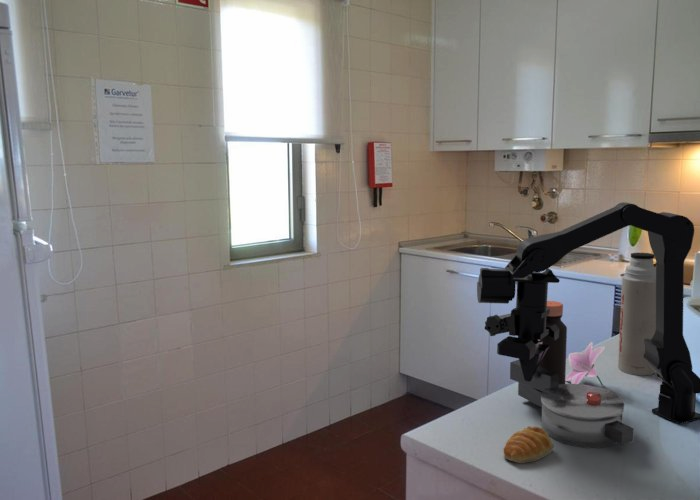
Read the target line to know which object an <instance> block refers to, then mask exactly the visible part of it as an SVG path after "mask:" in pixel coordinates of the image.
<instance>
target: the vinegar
mask: <svg viewBox="0 0 700 500" xmlns="http://www.w3.org/2000/svg"><path fill="white" fill-rule="evenodd" d="M547 308H548V309H550V314H548V315H547V316H546V323H553V324H556V325H557V327H558V328H559V338H558V339H556V340H552V338H551V336H545V337H544V338H542V339H541V340H540V341H542V344H544V345H549V349H548V350H547V352H546V353H545V355H544V357H543V359H542V361H541V362H540V364H539V367H542V368H545V369H548V370H551V371H554V372H557V373H559V384H566V381H565V378H566V374H567V372H566V369H567V367H566V366H567V341H568V340H567V338H568V337H567V336H568V335H567V333H568V327H567V325H565V323H564V322H563V321H562V318H563V313H564V311H563V310H564V304H563V303H562V302H559V301H556V300H555V301H554V300H547Z"/></svg>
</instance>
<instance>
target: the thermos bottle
mask: <svg viewBox="0 0 700 500" xmlns="http://www.w3.org/2000/svg"><path fill="white" fill-rule="evenodd" d="M654 259H655V256H654V253H649V252H631V253H630V261H629V265H627V266H626V267H625V270H624V272H625V274H624V275H622V276H621V294H620V296H621V297H620V316H619V317H620V318H619V336H618V338H619V339H618V342H619V343H618V357H617V358H618V360H617V361H618V362H617V368H618V370H619V371H621V372H624V373H627V374H629V375H636V376H650V375H653V373H654V374H656V372H655V371H654V370H653V369H652V368H651V367H650V366H649V365H648V363H647V360H646V359H645V358H644V357H643V356H644V354H645V344H644V339H652V337H653V336H654V334H655V331H656V266H654Z"/></svg>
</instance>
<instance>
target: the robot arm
mask: <svg viewBox="0 0 700 500" xmlns="http://www.w3.org/2000/svg"><path fill="white" fill-rule="evenodd" d="M630 226H632V227H635V228H637V229H639V230H642V231H645V232H647V236H648V237H647V238H648V241H649V246H650V249H651V250H652V251H651V252H652V254H654V259H655V267H656V331H655V334H654V336H653V337H652V339H644V344H645V354H644V356H643V357H644V358H645V359H646V360H647V363H648V365H649V366H650V367H651V368H652V369H653V370H654V371H655V375H656V378H658V379H660V380H661V381H662V382H661V384H659V393H658V404H657V407H654V408H651V413H654V414H656V415H658V416H660V417H663V418H665V419H668V420H669V421H672V422H674V423H677V424H680V425H681V424H685V423H689V422H693V421H695V420H696V421H697V420H698V419H700V413H699V412H696V400H697V394H700V377H699V376H698V374H696V373H695V372H694V370H693V364H692V359H691V358H692V357H691V353H690V350H689V347H688V345H687V342H686V340H685V336H684V290H685V289H684V285H685V284H684V283H685V282H684V280H685V279H684V277H685V276H684V275H685V269H684V268H685V261H686V259H687V256H688V255H689V253H690V251H691V249H692V245H693V241H694V236H695V224H694V223H693V222H692V221H691V219H689V217H687V216H684V215H681V214H676V213H671V212H666V211H665V212H664V211H663V212H654V211H652V210H649V209H646V208H643V207H640V206H638V205H637V204H635V203H630V202H625V201H624V202H619V203H618V204H616V205H615V206H613V207H611V208H609V209H606V210H604V211H603V212H600V213H598V214H596V215H593V216H592V217H589V218H586V219H585V220H581V221H580V222H578V223H575V224H574V225H570V226H569V227H567V228H564V229H561V230H559V231H555V232H551V233H546V234H540V235H537V236H536V235H535V236H533V237H529V238H528V237H527V238H524V240H522V241H520V243H519V244H518V245H517V249H516V250H515V251H516V252H515V253H516V254H515V255H514V257H512V259H511V260H509V262H508V264H506V266H505V267H504V269H503V268H501V269H500V268H499V269H498V268H488V267H480V269H479V275H478V279H477V280H478V281H477V282H476V295H477V296H476V297H477V303H479V304H504V305H505V304H509V303H510V302H511V301H513V299H515V297H516V299H515V300H516V302H515V308H512V309H511V311H510V313H506V314H503V315H498V314H494V315H489V316H488V317H486V321H485V322H484V324H485V326H484V330H486V331H487V332H488V333H489V336H490V337H494V336H496V335H499V334H505V333H508V336H507V337H505V338H503V339H502V340H501V341H500V342H498V343H497V347H496V349H497V350H496V354H497V355H499V356H503V357H507V358H508V357H509V358H514V359H517V360H519V361H520V365H521V368H522V372H523V376H524V380H525V381H528V382H530V381H531V380H532V378H533V376H534V374H535V372H536V370H537V368H538V366H539V364H540V362H541V361H542V359H543V357H544V355H545V353H546V352H547V350H548V349H549V345H544V344H542V341H540V340H541V339H542V338H544V337H545V336H551V338H552V340H556V339H558V338H559V328H558V327H557V325H556V324H553V323H546V316H547V315H548V314H550V309H548V308H547V301H548V291H549V288H548V287H549V283H550V284H552V283H553V284H557V283H558V284H559V283H560V278H558V277H557V276H556V275H555V274H554V272H553V270H552V269H550V267H552V266H554V265H556V264H558V263H559V262H560V261H561V260H562V259H564V257H565V256H566V255H568V254H569V253H571V252H572V251H575V250H577V249H578V248H580V247H583V246H585V245H588V244H590V243H592V242H594V241H597V240H599V239H601V238H604V237H605V236H608V235H610V234H613V233H614V232H617V231H619V230H622V229H624V228H626V227H630Z"/></svg>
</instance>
